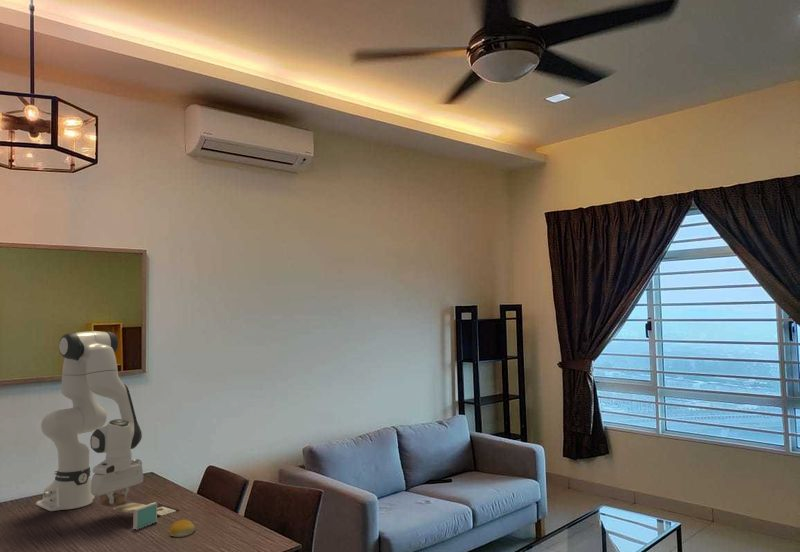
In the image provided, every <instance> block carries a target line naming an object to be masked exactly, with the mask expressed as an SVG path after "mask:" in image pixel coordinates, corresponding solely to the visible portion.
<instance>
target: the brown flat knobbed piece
mask: <svg viewBox="0 0 800 552" xmlns="http://www.w3.org/2000/svg"><path fill="white" fill-rule="evenodd" d="M112 495H113V497H114V498H116V503H113V504H110V503H109V498H108V496H107V494H103V495H100V496H99V498H100V499H99V504H100V506H105V507H111V508H112V509H113V510H114V511H119V512H123V513H133V509H136V508H139V507H142V506H145V505H144V503H143V504H142V503H138V502H137V503H136V502H132V501H128V502H126V499H125V495H124V494H122V493H117V492H114V494H112Z"/></svg>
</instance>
